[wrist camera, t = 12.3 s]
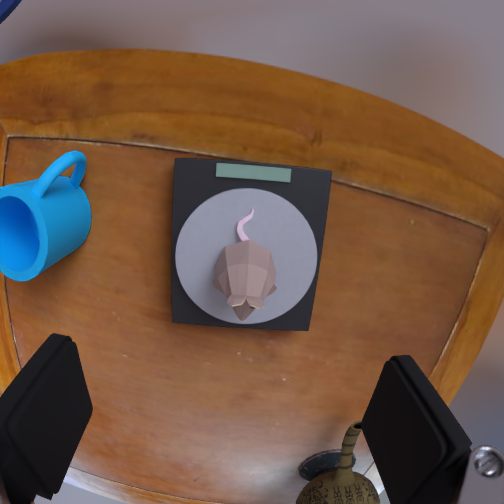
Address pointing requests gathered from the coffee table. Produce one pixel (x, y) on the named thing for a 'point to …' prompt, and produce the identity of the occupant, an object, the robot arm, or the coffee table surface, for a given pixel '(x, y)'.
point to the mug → (43, 219)
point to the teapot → (336, 476)
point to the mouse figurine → (245, 274)
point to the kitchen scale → (256, 229)
